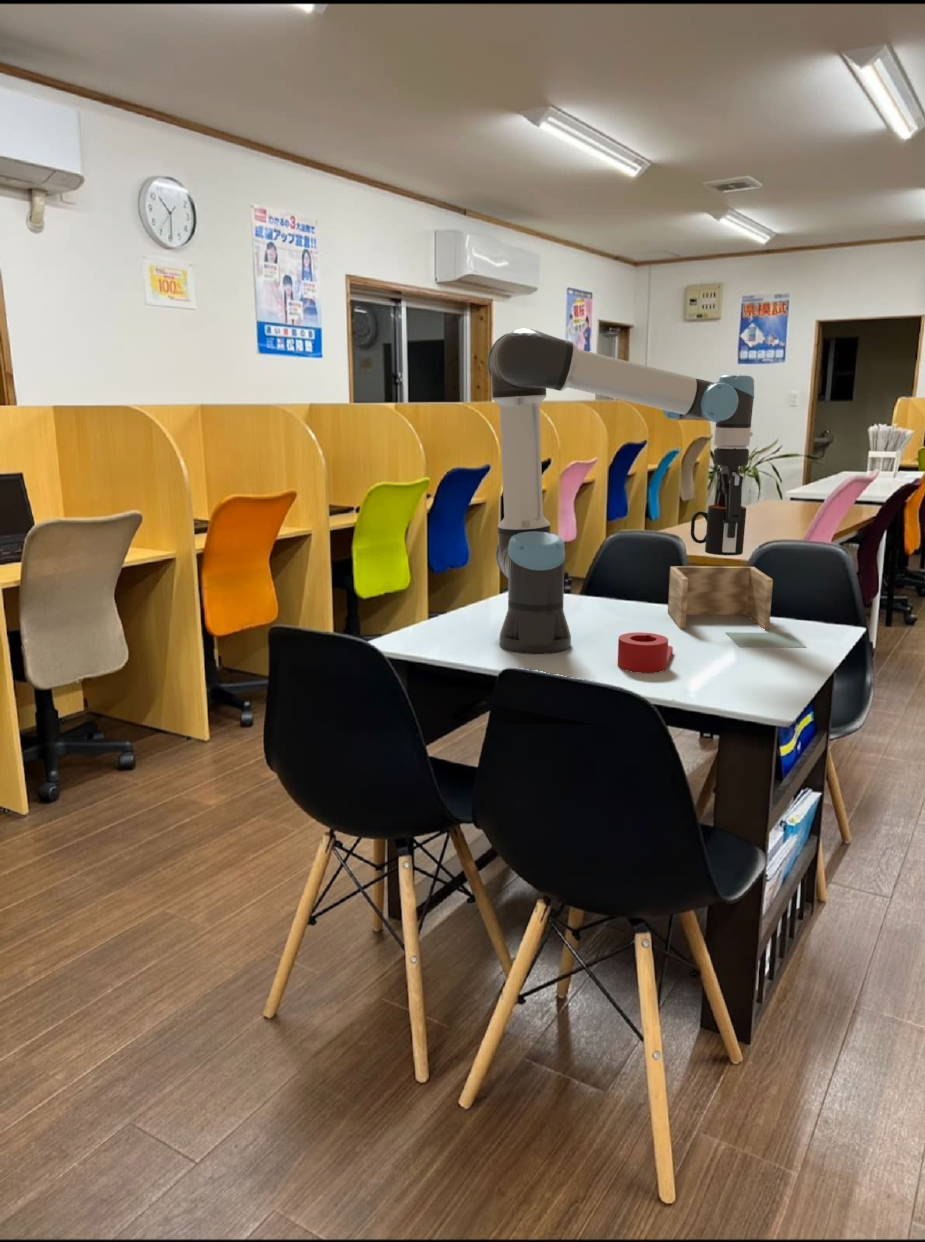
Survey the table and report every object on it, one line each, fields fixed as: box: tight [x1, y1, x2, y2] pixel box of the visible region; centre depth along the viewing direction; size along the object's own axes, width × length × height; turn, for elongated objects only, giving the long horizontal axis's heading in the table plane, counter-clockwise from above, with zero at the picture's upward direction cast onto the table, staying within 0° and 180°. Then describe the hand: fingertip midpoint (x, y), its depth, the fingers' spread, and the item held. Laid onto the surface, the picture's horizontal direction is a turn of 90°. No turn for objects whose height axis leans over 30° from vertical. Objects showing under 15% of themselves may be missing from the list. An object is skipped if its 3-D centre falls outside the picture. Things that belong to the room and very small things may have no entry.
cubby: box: [667, 565, 774, 631], centre depth 209 cm, size 20×16×12 cm
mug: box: [690, 504, 747, 556], centre depth 203 cm, size 8×12×10 cm
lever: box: [617, 631, 674, 674], centre depth 176 cm, size 18×9×7 cm, turn 147°
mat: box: [725, 631, 808, 649], centre depth 193 cm, size 14×12×1 cm
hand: (723, 548), depth 203 cm, fingers closed on mug, 8 cm apart
